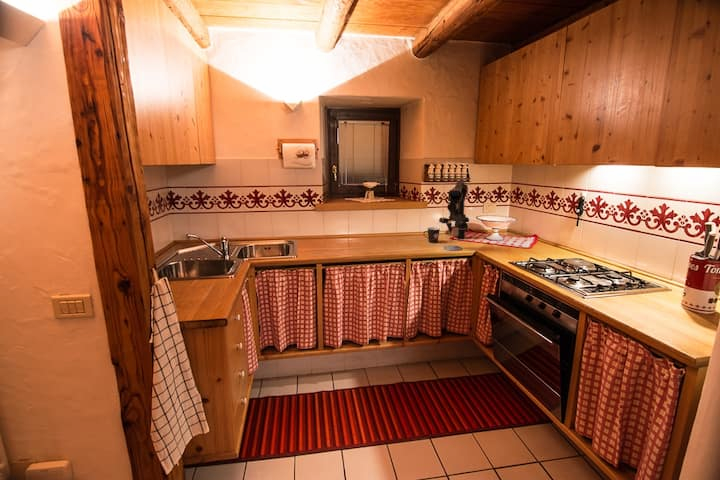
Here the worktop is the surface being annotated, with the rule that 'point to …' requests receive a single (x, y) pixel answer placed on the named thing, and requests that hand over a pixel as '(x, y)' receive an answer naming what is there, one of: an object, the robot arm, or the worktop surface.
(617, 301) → the worktop surface
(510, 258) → the worktop surface
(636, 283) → the worktop surface
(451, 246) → the coaster
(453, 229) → the block
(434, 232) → the coffee mug
